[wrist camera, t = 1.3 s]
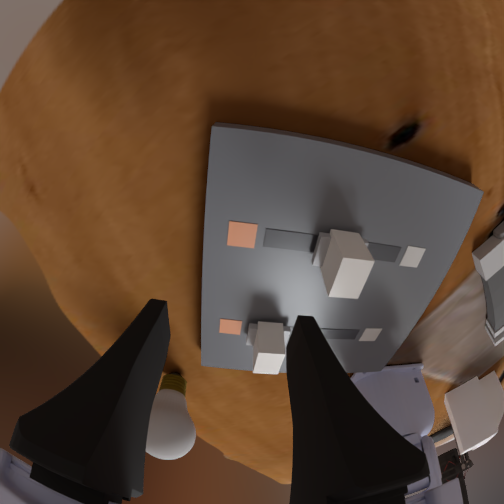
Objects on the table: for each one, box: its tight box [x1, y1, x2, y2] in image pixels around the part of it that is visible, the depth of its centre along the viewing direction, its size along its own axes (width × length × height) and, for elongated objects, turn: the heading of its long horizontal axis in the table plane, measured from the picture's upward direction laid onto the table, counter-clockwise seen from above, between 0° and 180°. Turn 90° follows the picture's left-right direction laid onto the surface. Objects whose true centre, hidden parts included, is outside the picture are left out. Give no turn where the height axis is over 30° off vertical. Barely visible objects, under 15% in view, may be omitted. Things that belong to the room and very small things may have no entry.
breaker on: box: [246, 321, 291, 374], centre depth 20 cm, size 3×3×3 cm
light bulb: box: [146, 373, 196, 460], centre depth 24 cm, size 6×6×10 cm
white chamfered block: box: [444, 371, 504, 455], centre depth 31 cm, size 11×11×12 cm
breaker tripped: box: [311, 229, 375, 299], centre depth 15 cm, size 3×3×3 cm
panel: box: [201, 122, 483, 373], centre depth 20 cm, size 18×20×2 cm
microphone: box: [430, 426, 473, 504], centre depth 40 cm, size 14×13×30 cm
